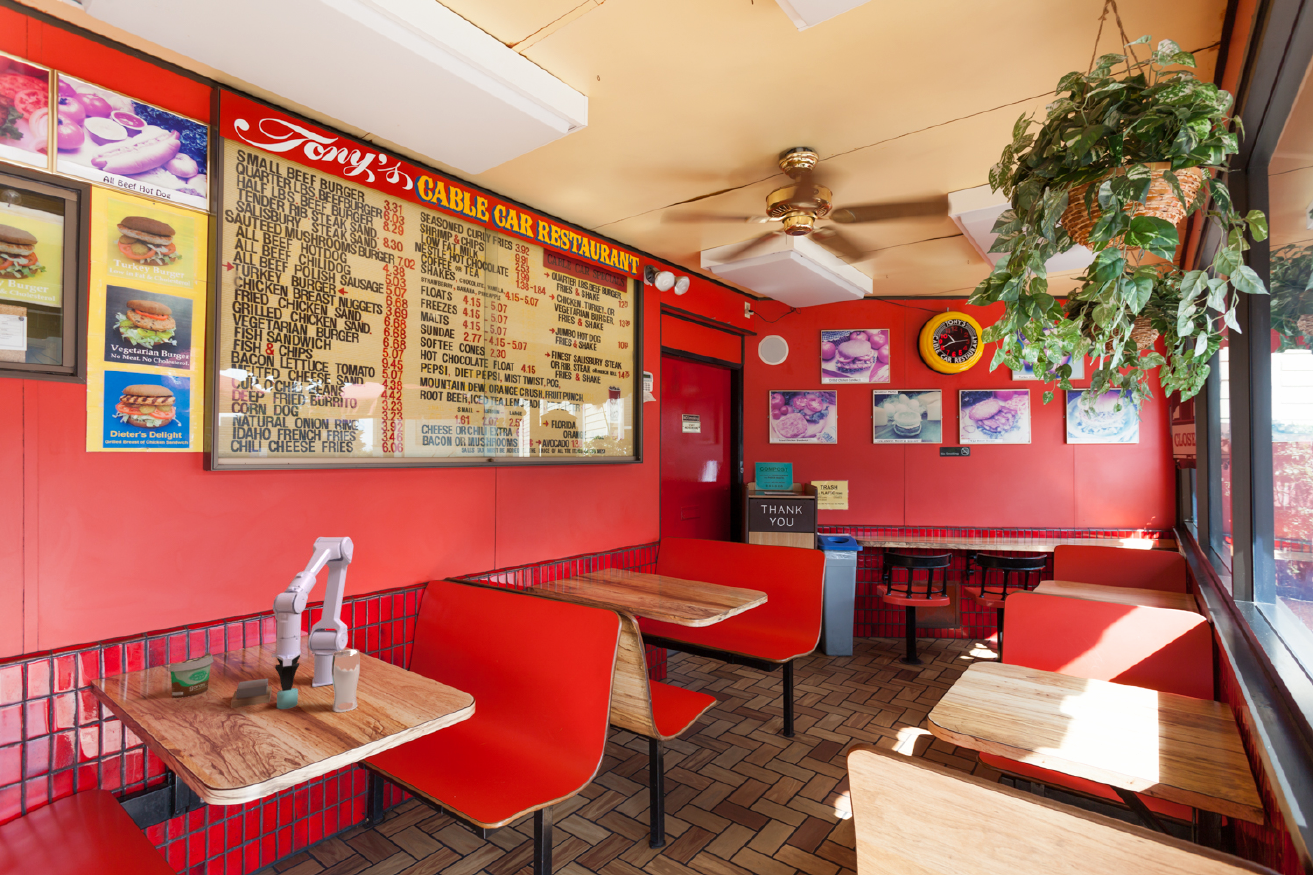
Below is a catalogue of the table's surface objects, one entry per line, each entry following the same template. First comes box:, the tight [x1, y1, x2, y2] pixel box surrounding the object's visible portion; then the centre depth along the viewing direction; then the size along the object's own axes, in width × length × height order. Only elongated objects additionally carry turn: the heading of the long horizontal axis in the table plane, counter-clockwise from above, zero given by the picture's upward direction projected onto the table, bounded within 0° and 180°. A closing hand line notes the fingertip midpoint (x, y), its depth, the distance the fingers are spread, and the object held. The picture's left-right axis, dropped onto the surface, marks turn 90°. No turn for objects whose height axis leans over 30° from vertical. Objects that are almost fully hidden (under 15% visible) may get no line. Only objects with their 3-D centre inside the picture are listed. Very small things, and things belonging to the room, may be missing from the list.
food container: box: [168, 651, 215, 699], centre depth 185 cm, size 12×6×10 cm, turn 168°
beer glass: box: [332, 648, 361, 713], centre depth 172 cm, size 7×7×15 cm
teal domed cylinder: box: [276, 687, 299, 710], centre depth 174 cm, size 5×5×4 cm
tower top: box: [236, 678, 269, 699], centre depth 179 cm, size 7×7×2 cm
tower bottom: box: [230, 685, 273, 709], centre depth 179 cm, size 9×9×2 cm
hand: (287, 685), depth 174 cm, fingers open, 7 cm apart
